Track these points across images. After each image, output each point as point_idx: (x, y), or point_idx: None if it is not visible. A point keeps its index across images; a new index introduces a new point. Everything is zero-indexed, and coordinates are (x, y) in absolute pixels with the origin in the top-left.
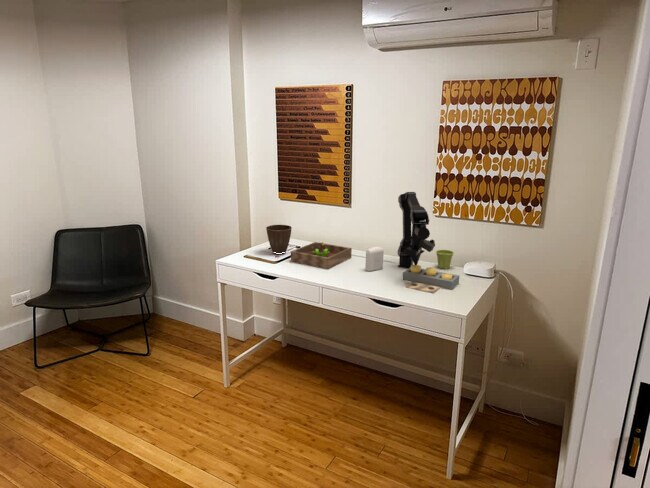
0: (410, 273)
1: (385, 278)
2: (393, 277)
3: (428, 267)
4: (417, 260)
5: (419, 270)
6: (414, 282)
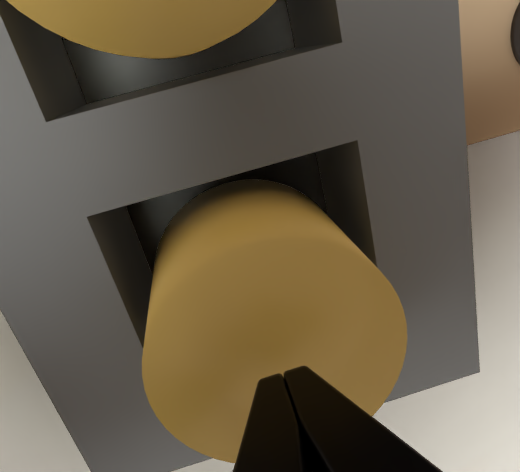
0: (448, 264)
1: (480, 440)
2: (396, 420)
3: (73, 36)
4: (396, 461)
5: (277, 209)
6: None
